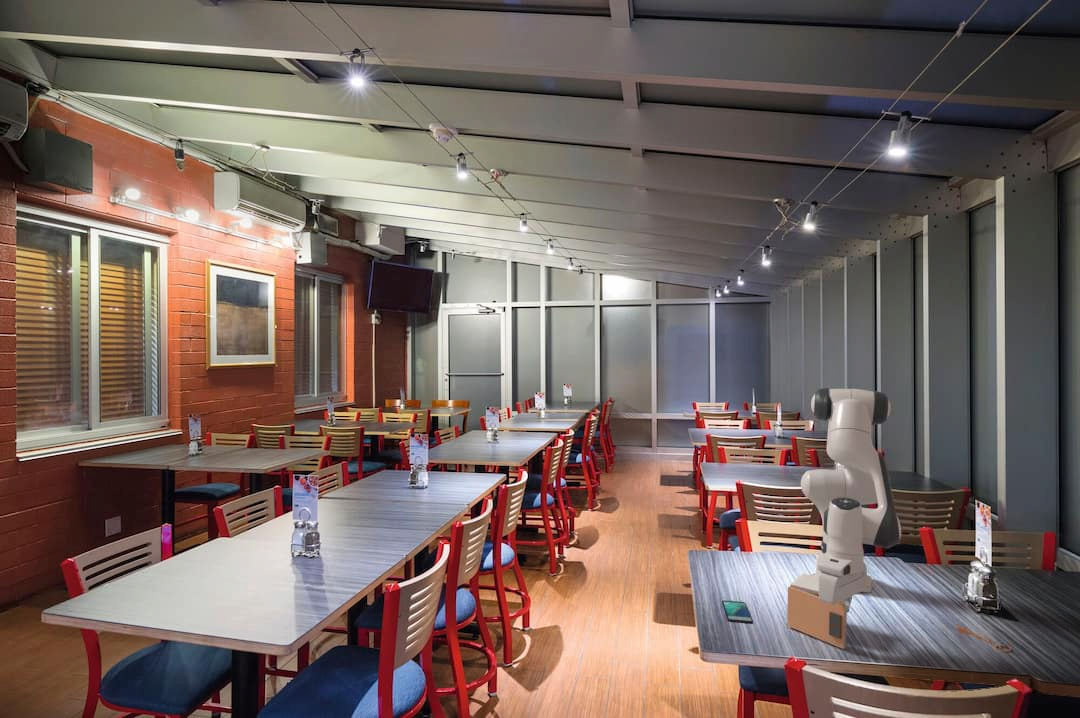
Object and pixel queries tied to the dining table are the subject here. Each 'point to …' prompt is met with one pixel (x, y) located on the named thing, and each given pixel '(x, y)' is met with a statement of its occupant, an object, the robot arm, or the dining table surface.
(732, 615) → the smartphone
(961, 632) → the key
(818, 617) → the hatch
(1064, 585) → the dining table surface
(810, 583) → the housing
